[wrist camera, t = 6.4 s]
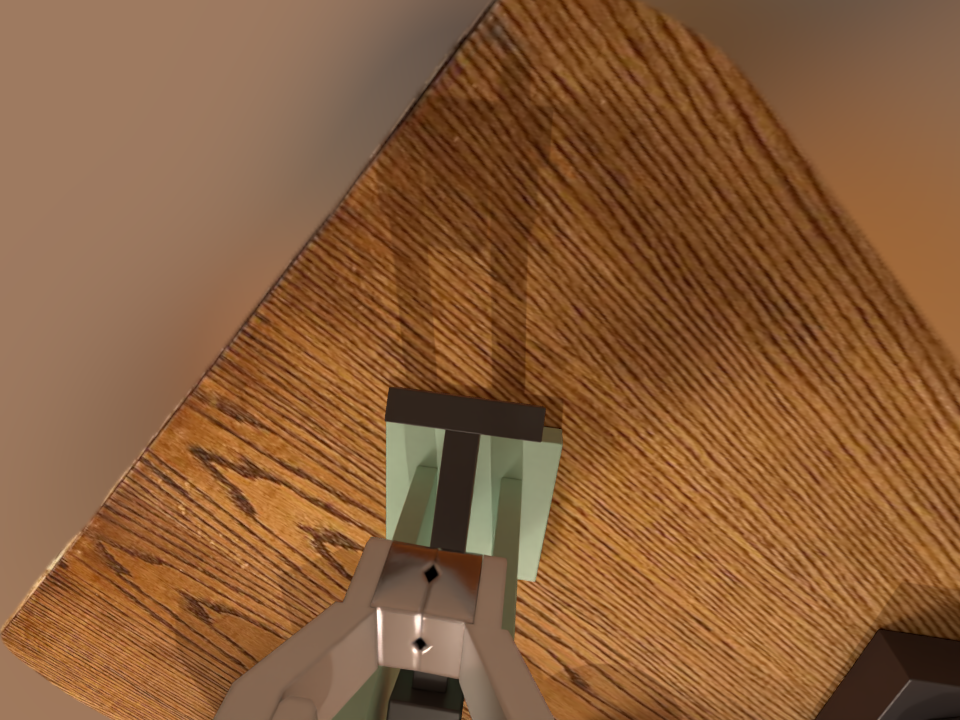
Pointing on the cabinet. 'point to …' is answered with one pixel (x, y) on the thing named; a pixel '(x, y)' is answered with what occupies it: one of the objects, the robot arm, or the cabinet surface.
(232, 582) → the cabinet surface
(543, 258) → the cabinet surface
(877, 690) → the button housing
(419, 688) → the lever
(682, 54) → the cabinet surface
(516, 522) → the lever stand
